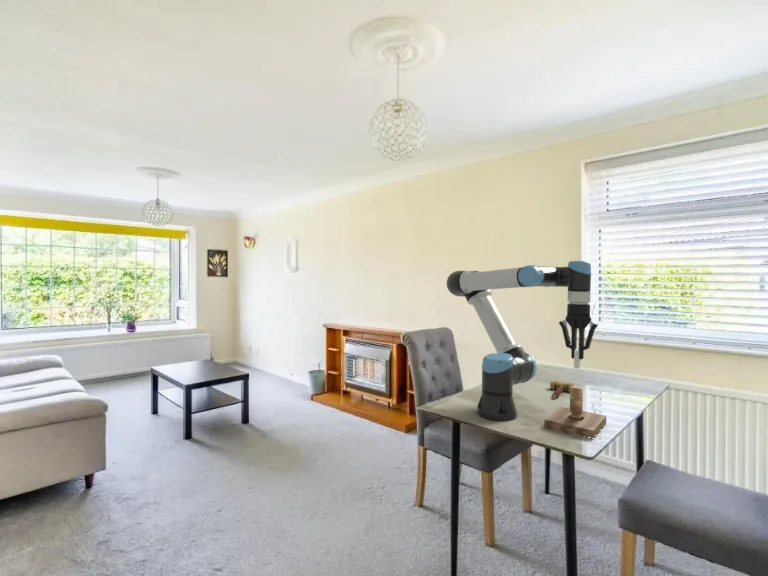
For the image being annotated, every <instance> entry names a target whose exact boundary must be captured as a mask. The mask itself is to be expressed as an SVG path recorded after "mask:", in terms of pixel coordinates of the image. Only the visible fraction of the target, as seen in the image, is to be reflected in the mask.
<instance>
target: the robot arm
mask: <svg viewBox="0 0 768 576" xmlns="http://www.w3.org/2000/svg"><path fill="white" fill-rule="evenodd" d="M591 281H592V265H591V262H590V261H587V260H570V261H568V263H567V266H544V265H542V266H541V265H533V264H532V265H531V264H530V265H525V266H523V267H522V266H521V267H512V268H511V267H510V268H504V269H493V270H486V271H479V270H478V271H477V270H455V271H453V272H452V273H450V274H449V276H448V277H447V279H446V288H447V290H448V292H449V293H451V294H452V295H454V296H456V297H464V298H465V300H466V301H467V304H468V305H471V306H473V308H474V310H475V312H476V314H477V316H478V318H479V320H480V322H481V323H482V325H483V328H484V329H485V331H486V333H487V335H488V337H489V339H490V341H491V344H492V345H493V347H494V349H495V351H496V353H493V352H492V353H488V354H486V355H485V356H483V359H482V365H481V395H480V398H479V400H478V403H477V405H476V414H477V415H479V417H482V418H484V419H487V420H491V421H500V422H501V421H513V420H515V419H517V417H518V415H517V414H518V411H517V408H516V404H515V401H514V397H513V389H514V388H513V386H515V385H518V384H524V383H527V382H529V381H531V380H532V379H533V378H534V377H535V376H536V374H537V369H538V367H537V362H536V360H535V358H534V357H533V356H532V355H531V354H529V353H527V352H525V349H524V348H523V346H522V345H519V344H517V343H516V341H515V339H514V338H513V336H512V334H511V331H509V329H508V327H507V325H506V323H505V321H504V319H503V317H502V316H501V313H500V312H499V310H498V308H497V306H496V304H495V303H494V301H493V299H492V297H491V296H492V293H493V292H492V290H500V289H501V290H502V289H514V288H515V289H517V288H530V287H531V288H534V287H543V288H544V287H547V288H549V287H550V288H551V287H552V288H553V287H554V288H555V287H557V288H559V287H560V288H562V287H564V288H567V301H566V302H568V304H567V307H566V308H567V309H566V313H567V314H566V316H565V319H564V320H561V321H559V322H558V324H559V325H560V327H561V330H562V334H563V340H564V342H565V346H566V348H568V349H570V350H571V356H570V357H571V359H573V360H574V361H573V369H578V370H579V369H580V368H581V360H583V359H584V355H585V354H584V353H585V351H587V350H589V349H590V346H591V344H592V340H593V337H594V334H595V331H596V329H598V326H599V324H598V323H596V322H594V321H593V320H592V317H591V305H590V303H591V294H592V293H591V284H592V282H591ZM567 325H569V327H571V328H570V329H571V330H570V331H571V337H570V333H569V329H568V326H567ZM588 326H589V330H588V333H587V337H586V340H585V330H586V328H587V327H588ZM577 333H579V334H577ZM577 337H578V339H577ZM570 338H571V339H570ZM577 341H578V343H577ZM577 344H578V348H577Z"/></svg>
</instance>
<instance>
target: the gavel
mask: <svg viewBox="0 0 768 576" xmlns="http://www.w3.org/2000/svg"><path fill="white" fill-rule="evenodd" d="M549 386H550V387H549V388H550V390H551V389H553V391H554V392H553V393H552V395H551V396H552V399H553V400H556V399H558V398H559V397H560V396H561V394H562V392H567V393H570V387H571V386H575V384H574V383H572V382H568V383H567V382H559V381H556V380H551V381H550V385H549ZM555 389H556V390H555Z"/></svg>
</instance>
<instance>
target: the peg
mask: <svg viewBox="0 0 768 576" xmlns="http://www.w3.org/2000/svg"><path fill="white" fill-rule="evenodd" d="M583 398H584V388H583V387H582V386H578V385H577V386H576V385H574V386H571V387H570V392H569V408H570V412H571V419H575V420H579V421H580V419H581V414H582V411H583V409H584V408H583V406H584V404H583V402H584V400H583Z"/></svg>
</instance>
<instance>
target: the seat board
mask: <svg viewBox="0 0 768 576" xmlns="http://www.w3.org/2000/svg"><path fill="white" fill-rule="evenodd" d="M543 421H544V422H543V423H544V424H543V428H544V429H548V430H551V429H552V431H556V432H560V431H561V433H564V434H568V433H570V434H569V435H572V434H575V435H574V436H576V435H580V436H585V437H591V438H594V437H595V435H596V434H597V433H598V432H599V431H600V429H601V428H602V427H603V426H604V425H605V424H606V425H607V415H604V414H599V413H594V412H589V411H585V410H584V411H582V414H581V419H580V421H579V420H575V419H571V412H570V407H564V406H560V407H558V408H557V409H556V410H555V411H554V412H552V413H550V414H549V415H548V416H547V417H545V418H544V419H543ZM606 425H605V426H606ZM605 426H604V427H605ZM604 427H603V428H604ZM603 428H602V429H603ZM600 432H601V431H600ZM600 432H599V433H600ZM599 433H598V434H599ZM598 434H597V435H598ZM580 436H579V437H580ZM585 437H584V438H585ZM595 438H596V437H595ZM595 438H594V439H595Z"/></svg>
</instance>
